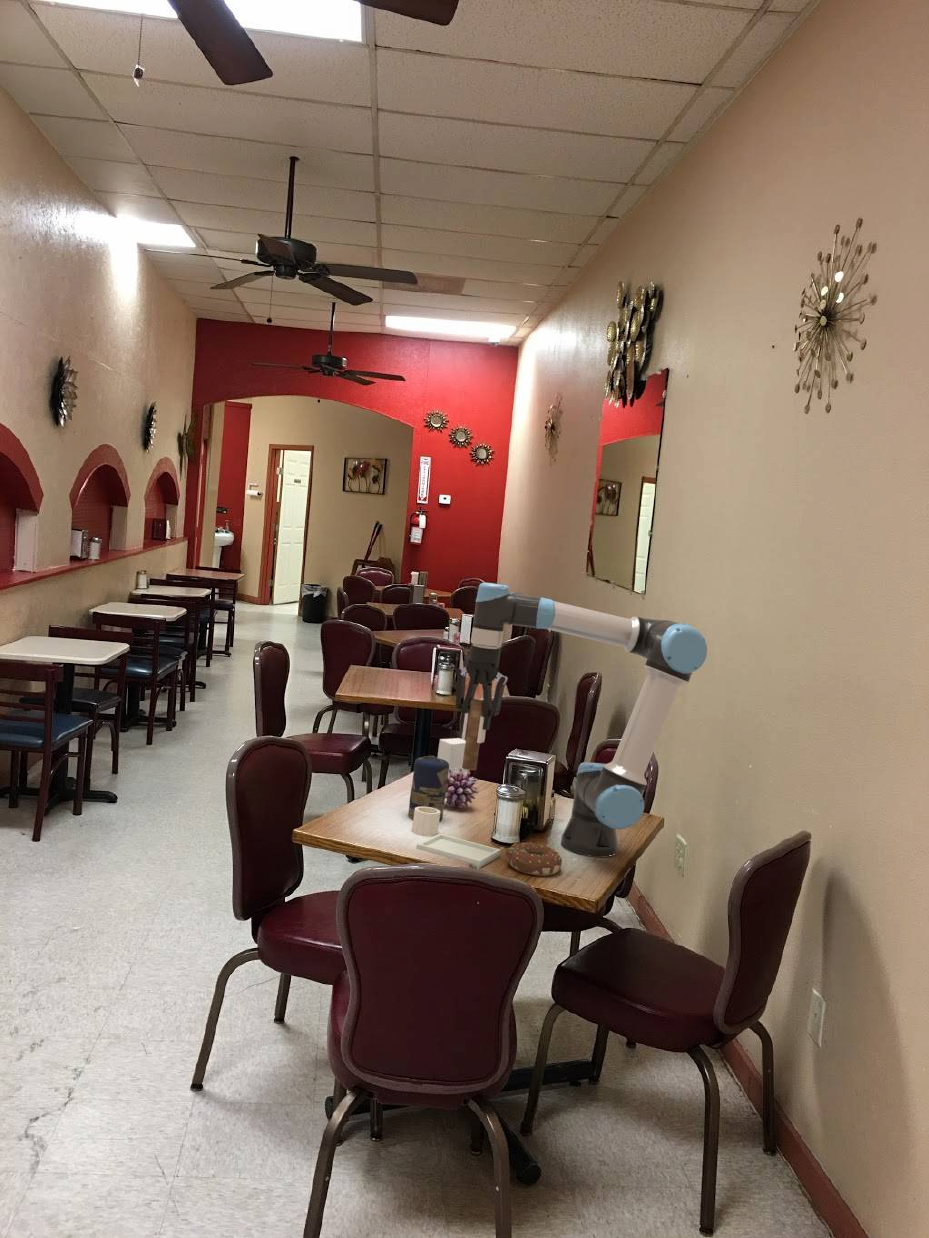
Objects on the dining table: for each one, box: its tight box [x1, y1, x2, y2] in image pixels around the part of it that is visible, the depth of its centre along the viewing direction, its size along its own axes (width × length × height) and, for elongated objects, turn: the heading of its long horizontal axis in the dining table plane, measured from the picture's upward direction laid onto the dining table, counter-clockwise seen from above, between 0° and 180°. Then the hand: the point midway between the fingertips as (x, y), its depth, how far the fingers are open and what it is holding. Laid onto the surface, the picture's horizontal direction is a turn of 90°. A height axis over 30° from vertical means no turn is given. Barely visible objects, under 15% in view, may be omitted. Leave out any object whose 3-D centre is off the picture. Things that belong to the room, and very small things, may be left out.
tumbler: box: [411, 807, 440, 837], centre depth 263 cm, size 7×7×6 cm
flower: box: [445, 768, 479, 809], centre depth 294 cm, size 12×12×12 cm
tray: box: [415, 833, 502, 869], centre depth 250 cm, size 17×13×2 cm
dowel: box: [462, 698, 484, 771], centre depth 249 cm, size 4×4×17 cm
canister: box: [407, 755, 449, 823], centre depth 276 cm, size 10×10×18 cm
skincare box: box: [437, 737, 467, 775], centre depth 316 cm, size 8×7×16 cm
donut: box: [505, 842, 563, 876], centre depth 247 cm, size 14×14×5 cm
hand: (473, 740), depth 249 cm, fingers closed on dowel, 3 cm apart
